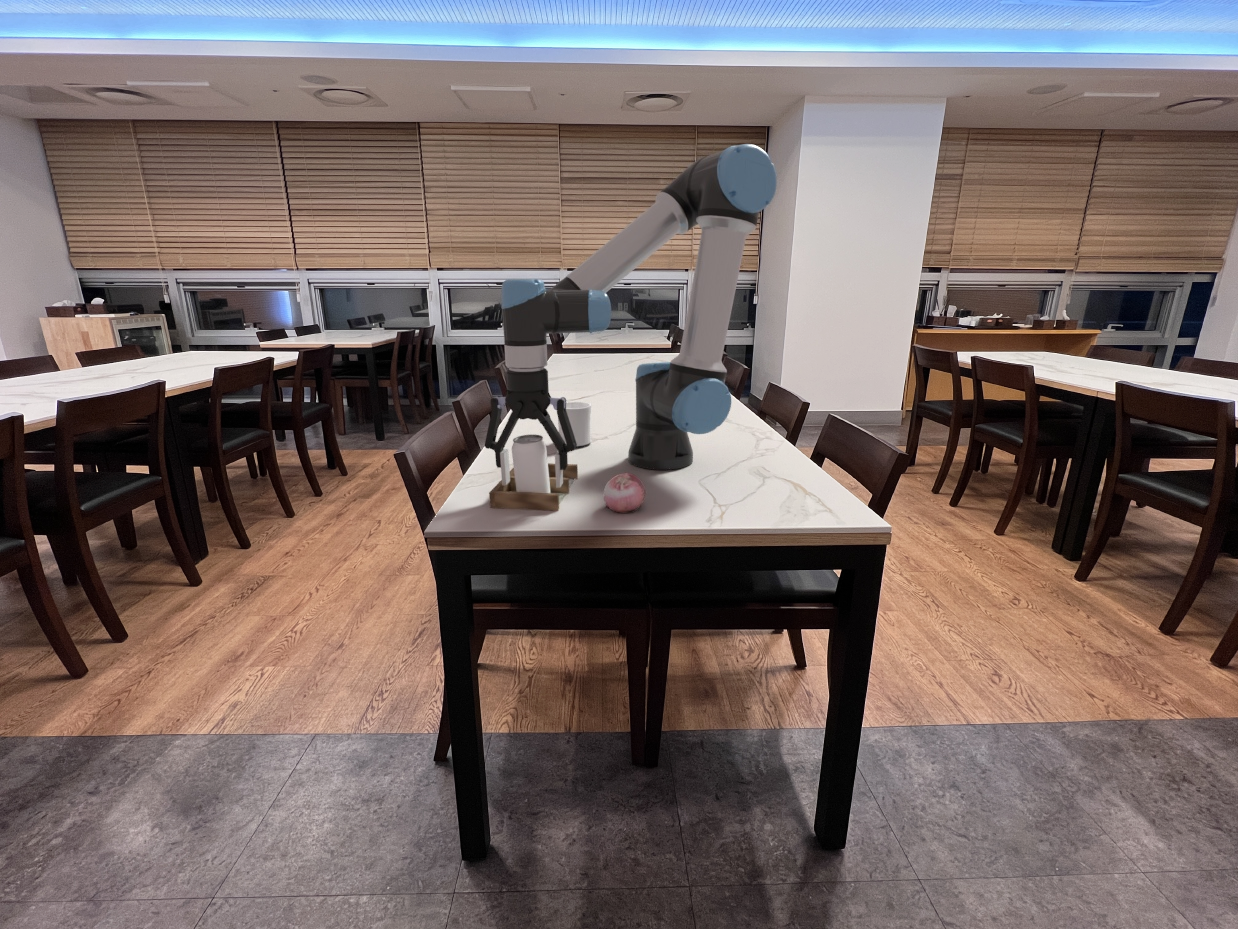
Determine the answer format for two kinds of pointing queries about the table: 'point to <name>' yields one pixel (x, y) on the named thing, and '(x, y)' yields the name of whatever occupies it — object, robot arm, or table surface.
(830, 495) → the table surface
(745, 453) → the table surface
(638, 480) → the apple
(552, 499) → the comb rack
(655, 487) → the table surface
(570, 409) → the mug
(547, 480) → the can
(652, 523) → the table surface
